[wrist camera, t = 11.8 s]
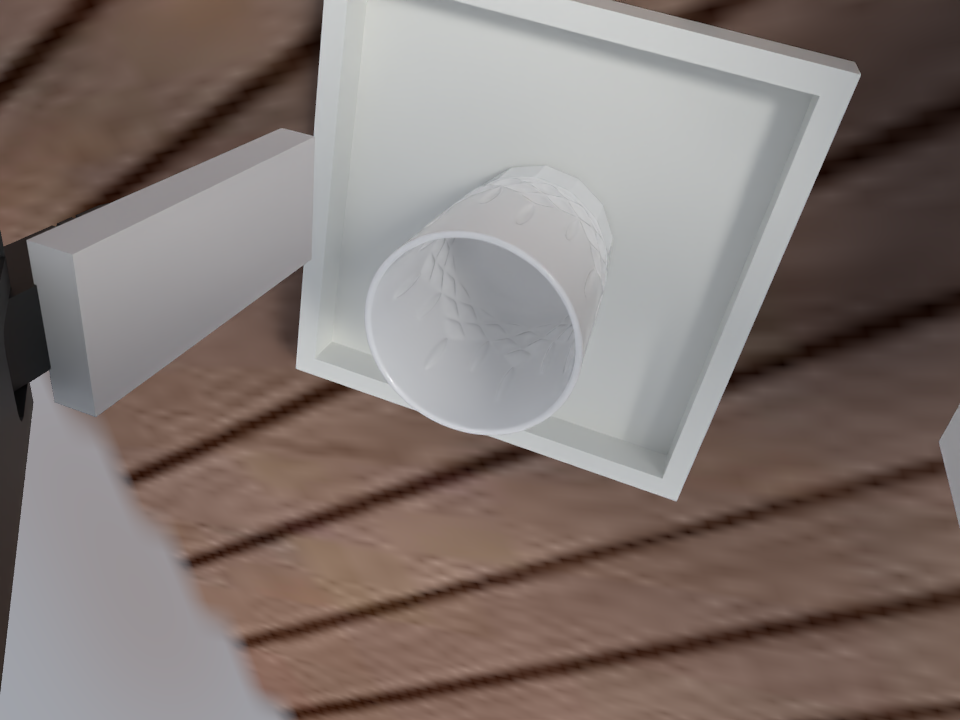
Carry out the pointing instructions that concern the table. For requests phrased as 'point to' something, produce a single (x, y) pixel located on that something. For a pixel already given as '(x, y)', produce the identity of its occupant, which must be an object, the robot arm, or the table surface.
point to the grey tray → (598, 164)
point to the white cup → (493, 302)
